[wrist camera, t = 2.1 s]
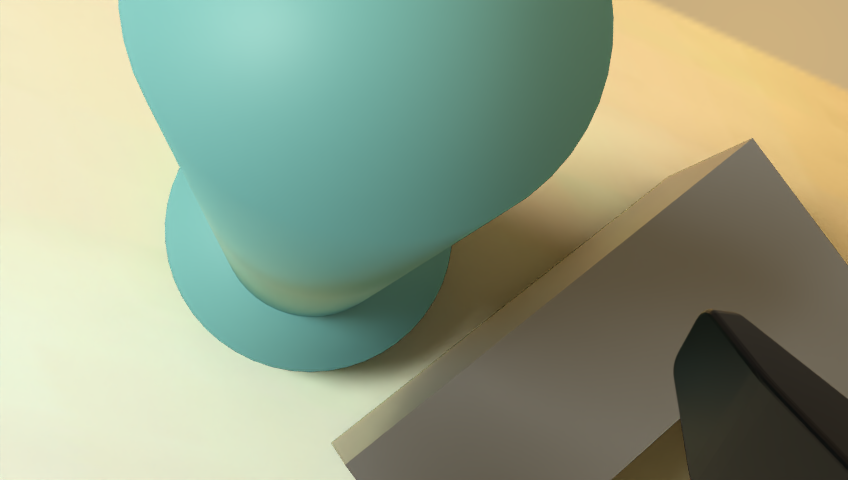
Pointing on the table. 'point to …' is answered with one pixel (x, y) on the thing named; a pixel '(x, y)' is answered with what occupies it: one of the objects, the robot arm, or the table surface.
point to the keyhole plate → (616, 335)
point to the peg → (351, 151)
